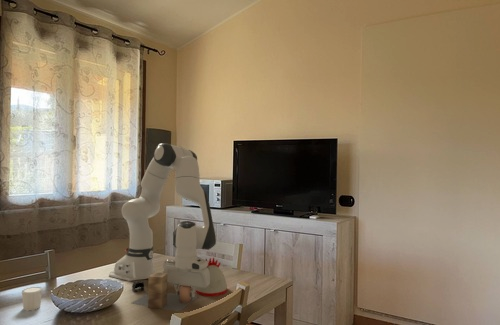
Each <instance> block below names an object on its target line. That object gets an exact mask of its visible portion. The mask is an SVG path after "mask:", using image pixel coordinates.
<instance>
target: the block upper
mask: <svg viewBox="0 0 500 325" xmlns="http://www.w3.org/2000/svg"><path fill="white" fill-rule="evenodd" d="M166 289H167V290H168V283H167V273H163V272H154V273H153V274H152V275H150V276H149V278H148V292H155V293H162V292H164V291H165V290H166ZM148 292H147V293H148Z"/></svg>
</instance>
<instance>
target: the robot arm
mask: <svg viewBox="0 0 500 325" xmlns="http://www.w3.org/2000/svg"><path fill="white" fill-rule="evenodd" d="M172 170H175V171H174V172H175V174H174V176H175V177H174V187H175V192H176V194H177V195H178V196H179V197H181V198H182V199H184V200H186V201H188V202H192V203H194V204H196V205H197V206H199V208H200V209H201V215H202V221H203V222H202V223H203V225H202V226H201V225H200V226H197V224H196V222H194V221H192V220H191V221H190V220H184V221H180V222H178V224H177V227H176V229H175V230H174V231H173V232H172V239H173V240H172V245H173V246H174V248H176V250H175V254H174V255H175V256H174V260H172V259H167V260H165V261H164V262H163V266H162V267H163V270H162V273H167V284H171V285H173V288H174V290H175V293H176V295H179V292H180V285H185V286H191V292H190V297H194V296H195V295H196V290H197V288H198V287H200V288H206V287H207V286H208V285H209V284H210V273H209V269H208V268H207V266H208V263H209V260H207V261H206V259H204V258H202V257H199V256H198V251H197V250H208V251H210V250H211V249H212V248H214V247H215V246H216V244H217V233H216V229H215V227H214V222H213V216H212V210H211V204H210V201H209V196H208V193H207V191H206V190H204V189H203V187H202V186H201V182H200V180H201V179H200V178H201V176H200V175H201V174H200V166H199V162H198V156H197V154H196V153H195V152H194V151H192V150H190V149H187V148H185V147H182V146H180V145H179V146H178V145H174V144H170V143H166V142H165V143H159V144H158V145H157V146H156V147H155V148H154V152H153V157H152V159H151V161H150V162H149V164H148V166H147V168H146V170H145V173H144V175H143V177H142V179H141V182H140V187H141V192H140V195H139V197H137V198H132V199H130V200H127V201H126V202H125V203H123V205H122V207H121V216H122V217H123V218H124V220H125V221H126V223H127V227H128V232H129V247H127V248H125V249H124V252H126V254H124V256H122V257H121V258H120V259H119V260H117V261H116V262H115V263H114V268H113V270H112V271H111V272H109V273H108V276H109V277H111V278H116V279H119V280H123V281H128V282H131V281H133V282H134V281H141V280H146V279H149V276H150V275H152V274H153V273H154V272H155V269H154V268H155V267H154V261H153V258H154V246H153V241H154V240H153V239H154V238H153V235H154V234H153V229H151V227H150V224H149V219H150V218H152V217H155V216H157V214H158V213H159V212H160V210H161V202H160V201H161V197H162V193H163V190H164V187H165V185H166V183H167V182H168V179H169V176H170V174H171V172H172ZM155 273H156V272H155Z"/></svg>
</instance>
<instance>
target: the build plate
mask: <svg viewBox="0 0 500 325" xmlns="http://www.w3.org/2000/svg"><path fill="white" fill-rule="evenodd" d="M131 288H132V292H134V293H138V292H143V291H144V292H145V284H144V281H142V280H136V281H133V282H132V286H131Z"/></svg>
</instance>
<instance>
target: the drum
mask: <svg viewBox="0 0 500 325" xmlns="http://www.w3.org/2000/svg"><path fill="white" fill-rule="evenodd" d="M179 289H180V292H179V302H181V303H189V302H191V297H190V292H191V291H192V286H185V285H179ZM191 303H192V302H191Z"/></svg>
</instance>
